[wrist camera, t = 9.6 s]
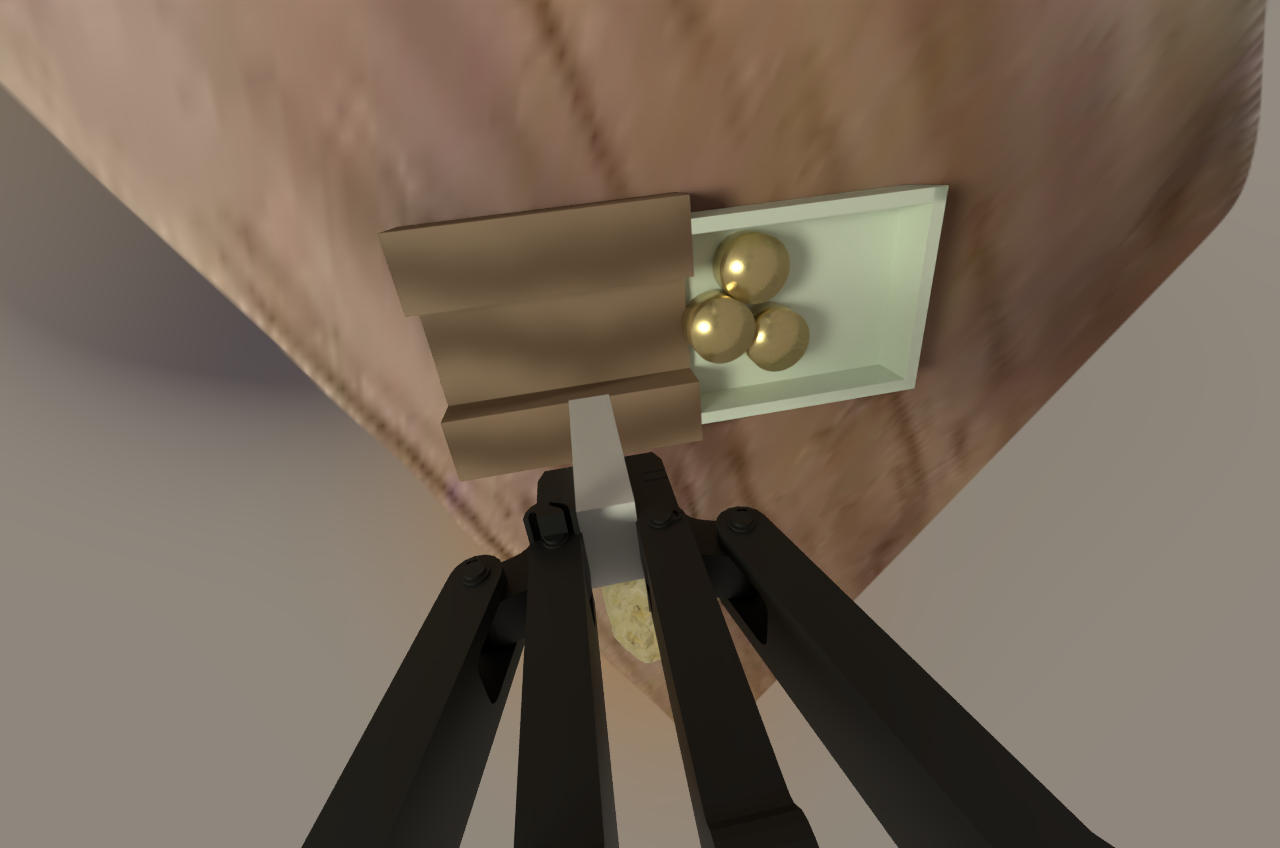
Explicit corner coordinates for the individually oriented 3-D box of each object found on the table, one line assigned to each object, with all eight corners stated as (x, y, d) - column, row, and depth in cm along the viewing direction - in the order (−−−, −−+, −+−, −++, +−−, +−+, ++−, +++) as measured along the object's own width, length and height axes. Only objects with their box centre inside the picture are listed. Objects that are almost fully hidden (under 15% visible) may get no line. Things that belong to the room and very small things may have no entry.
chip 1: (699, 260, 31) (711, 267, 28) (751, 215, 30) (766, 218, 28) (735, 308, 32) (748, 317, 30) (784, 266, 32) (801, 273, 29)
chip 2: (675, 301, 31) (685, 311, 29) (735, 282, 31) (750, 290, 29) (688, 358, 33) (699, 372, 31) (744, 340, 33) (759, 352, 31)
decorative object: (610, 577, 47) (666, 678, 42) (556, 567, 38) (620, 693, 33) (687, 518, 46) (754, 613, 41) (651, 493, 37) (730, 610, 32)
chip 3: (759, 290, 32) (774, 298, 30) (804, 319, 33) (822, 329, 31) (724, 342, 33) (737, 354, 31) (769, 368, 35) (784, 381, 32)
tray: (676, 214, 30) (690, 218, 27) (909, 184, 31) (948, 185, 28) (688, 402, 35) (701, 424, 32) (884, 370, 37) (914, 388, 34)
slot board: (397, 227, 28) (377, 233, 25) (675, 192, 29) (689, 194, 26) (468, 454, 35) (459, 481, 32) (689, 417, 36) (702, 439, 33)
